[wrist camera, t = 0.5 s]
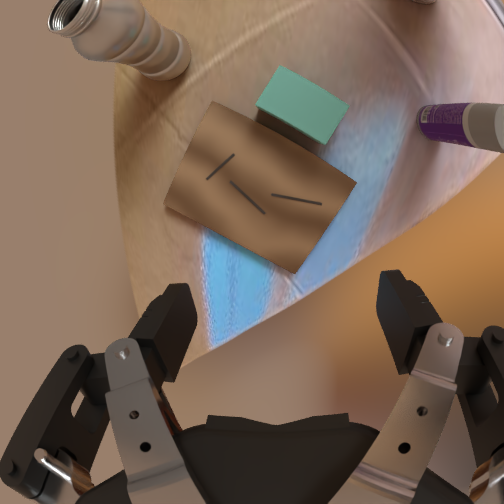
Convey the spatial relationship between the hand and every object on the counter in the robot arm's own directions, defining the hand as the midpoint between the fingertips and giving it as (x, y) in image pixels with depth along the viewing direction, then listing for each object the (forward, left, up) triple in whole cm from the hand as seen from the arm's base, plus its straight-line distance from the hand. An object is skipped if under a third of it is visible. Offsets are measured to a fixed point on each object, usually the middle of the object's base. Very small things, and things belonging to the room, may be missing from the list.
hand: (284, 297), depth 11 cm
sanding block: (-9, -3, -24) cm, 25 cm away
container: (-18, +12, -24) cm, 32 cm away
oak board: (+2, -2, -23) cm, 23 cm away
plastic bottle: (-8, -20, -24) cm, 32 cm away
